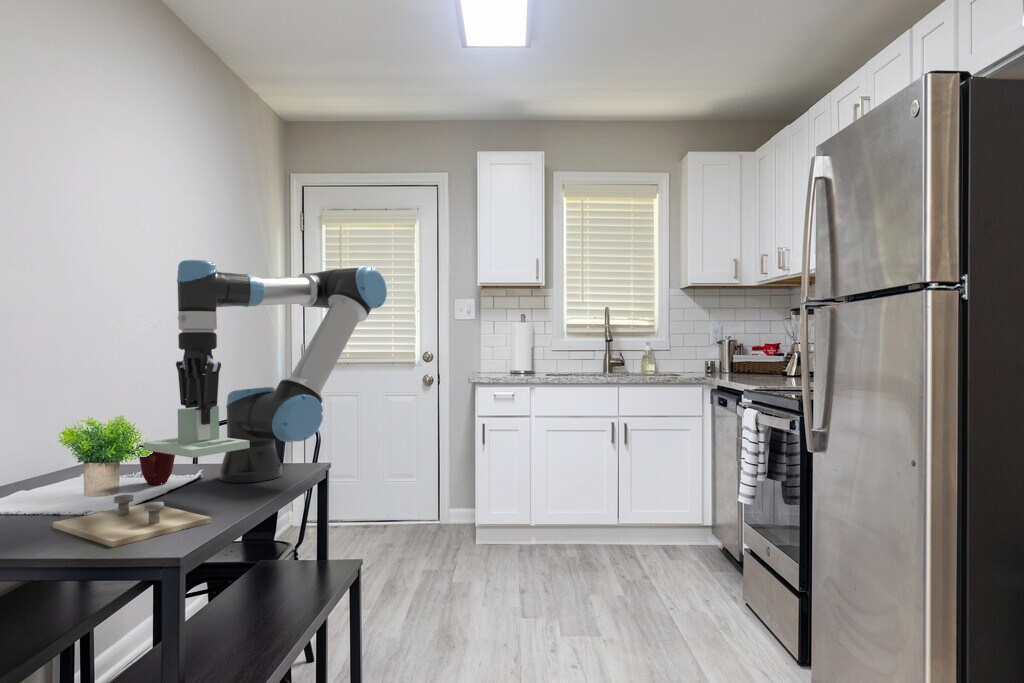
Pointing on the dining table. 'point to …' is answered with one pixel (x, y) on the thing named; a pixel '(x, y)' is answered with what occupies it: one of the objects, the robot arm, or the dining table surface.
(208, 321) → the robot arm
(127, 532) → the boss board
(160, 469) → the mug
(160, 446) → the panel
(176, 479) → the dining table surface
